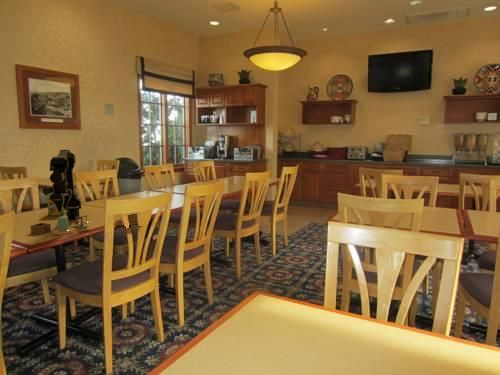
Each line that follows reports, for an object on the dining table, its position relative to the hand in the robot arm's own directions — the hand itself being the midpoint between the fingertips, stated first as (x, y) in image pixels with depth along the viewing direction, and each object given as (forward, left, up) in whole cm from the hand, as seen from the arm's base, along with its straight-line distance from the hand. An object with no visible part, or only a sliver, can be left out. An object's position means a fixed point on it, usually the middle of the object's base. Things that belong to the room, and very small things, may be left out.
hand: (62, 210), depth 198 cm
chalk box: (-21, -45, -12) cm, 51 cm away
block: (0, 0, -11) cm, 11 cm away
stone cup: (-30, +15, -12) cm, 36 cm away
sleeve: (+7, -10, -12) cm, 17 cm away
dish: (0, 0, -12) cm, 12 cm away
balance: (-11, -1, -12) cm, 16 cm away
